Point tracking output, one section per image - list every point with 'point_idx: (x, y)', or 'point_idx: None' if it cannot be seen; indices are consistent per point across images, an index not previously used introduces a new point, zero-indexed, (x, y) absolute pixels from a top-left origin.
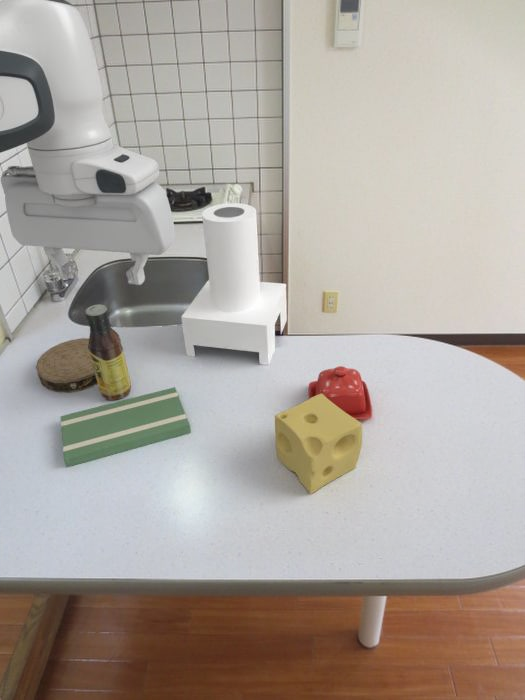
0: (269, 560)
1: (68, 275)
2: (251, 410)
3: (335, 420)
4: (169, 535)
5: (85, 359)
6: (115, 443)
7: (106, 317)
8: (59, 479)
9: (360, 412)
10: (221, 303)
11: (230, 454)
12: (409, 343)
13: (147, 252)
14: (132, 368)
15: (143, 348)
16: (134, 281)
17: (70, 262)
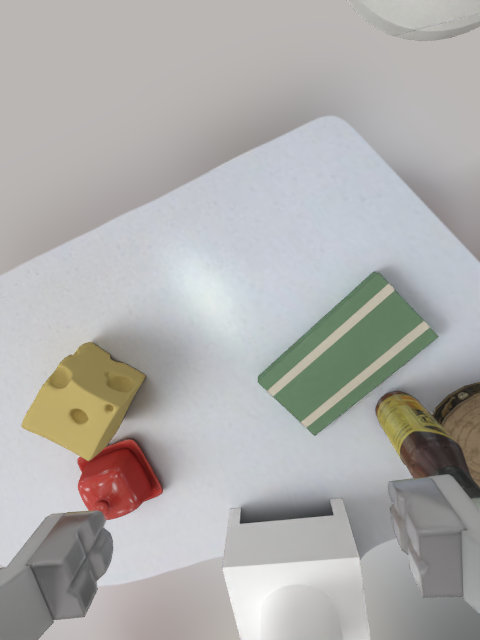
0: (89, 253)
1: (405, 491)
2: (209, 432)
3: (48, 421)
4: (196, 237)
5: (477, 445)
6: (329, 321)
7: None
8: (370, 251)
9: (89, 462)
10: (306, 599)
11: (196, 362)
12: None
13: None
14: None
15: None
16: (56, 523)
17: (446, 585)
